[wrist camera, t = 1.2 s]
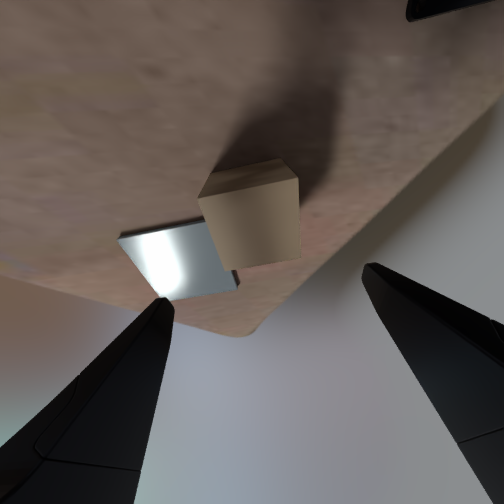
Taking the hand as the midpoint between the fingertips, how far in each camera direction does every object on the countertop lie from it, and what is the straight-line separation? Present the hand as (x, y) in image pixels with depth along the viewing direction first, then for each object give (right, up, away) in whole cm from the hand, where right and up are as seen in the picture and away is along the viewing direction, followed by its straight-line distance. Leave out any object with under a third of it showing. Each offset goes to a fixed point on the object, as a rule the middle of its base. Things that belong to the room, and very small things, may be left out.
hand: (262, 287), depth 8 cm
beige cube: (-1, +6, +9) cm, 11 cm away
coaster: (-8, 0, +13) cm, 15 cm away
